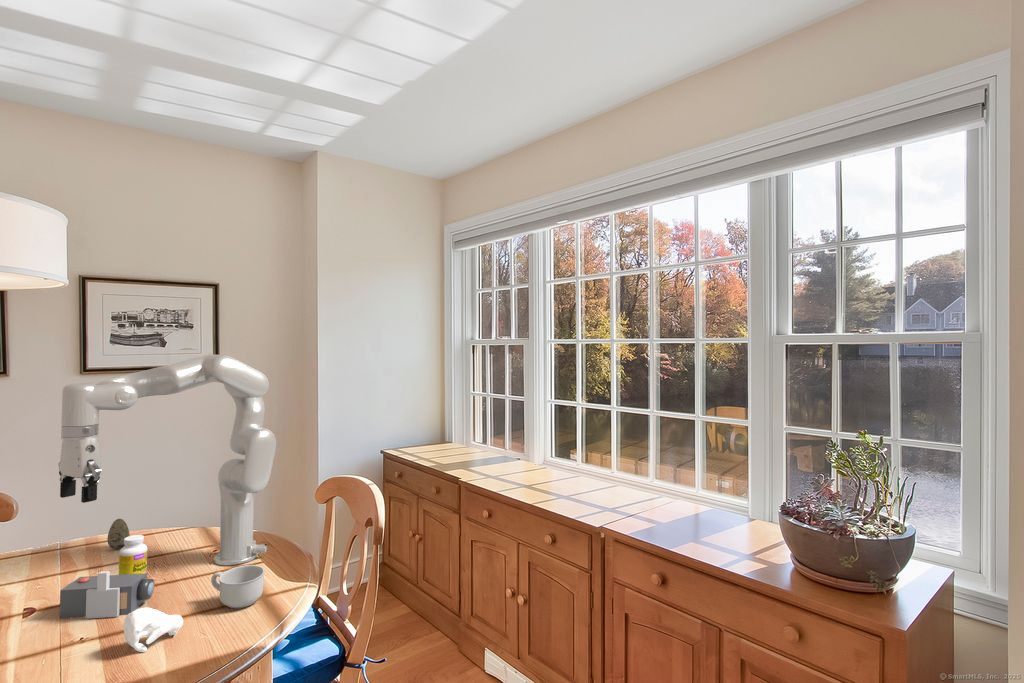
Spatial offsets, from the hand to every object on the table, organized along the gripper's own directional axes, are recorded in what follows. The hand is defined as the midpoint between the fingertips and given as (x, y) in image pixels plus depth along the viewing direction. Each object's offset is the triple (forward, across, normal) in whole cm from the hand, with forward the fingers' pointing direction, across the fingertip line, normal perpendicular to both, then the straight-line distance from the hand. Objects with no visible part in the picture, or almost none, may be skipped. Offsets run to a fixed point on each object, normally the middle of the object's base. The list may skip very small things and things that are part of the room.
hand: (78, 498), depth 138 cm
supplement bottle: (+29, +5, -16) cm, 33 cm away
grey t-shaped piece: (+28, -10, -1) cm, 30 cm away
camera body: (+28, -6, -5) cm, 29 cm away
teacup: (+29, -32, -22) cm, 48 cm away
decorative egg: (+29, +36, -30) cm, 55 cm away
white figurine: (+29, -33, 0) cm, 44 cm away
